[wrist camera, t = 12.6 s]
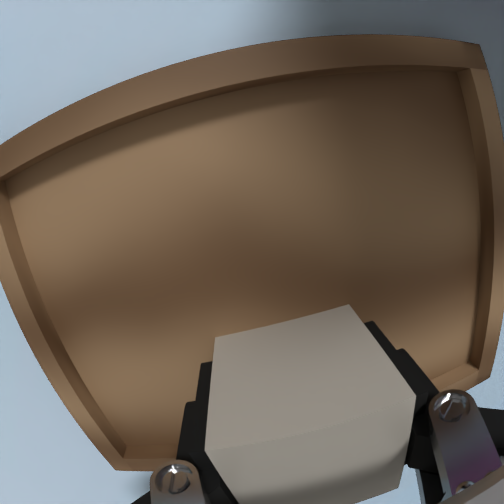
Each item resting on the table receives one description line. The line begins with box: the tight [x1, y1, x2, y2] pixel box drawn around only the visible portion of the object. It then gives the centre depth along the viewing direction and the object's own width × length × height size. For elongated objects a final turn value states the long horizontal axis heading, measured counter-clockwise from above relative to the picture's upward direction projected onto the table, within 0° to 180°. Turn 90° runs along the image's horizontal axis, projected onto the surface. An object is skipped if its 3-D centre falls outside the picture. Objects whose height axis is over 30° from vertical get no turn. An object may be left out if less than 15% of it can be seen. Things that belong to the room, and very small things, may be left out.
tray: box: [0, 34, 504, 471], centre depth 9 cm, size 14×18×1 cm
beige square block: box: [205, 304, 416, 504], centre depth 8 cm, size 4×4×5 cm
